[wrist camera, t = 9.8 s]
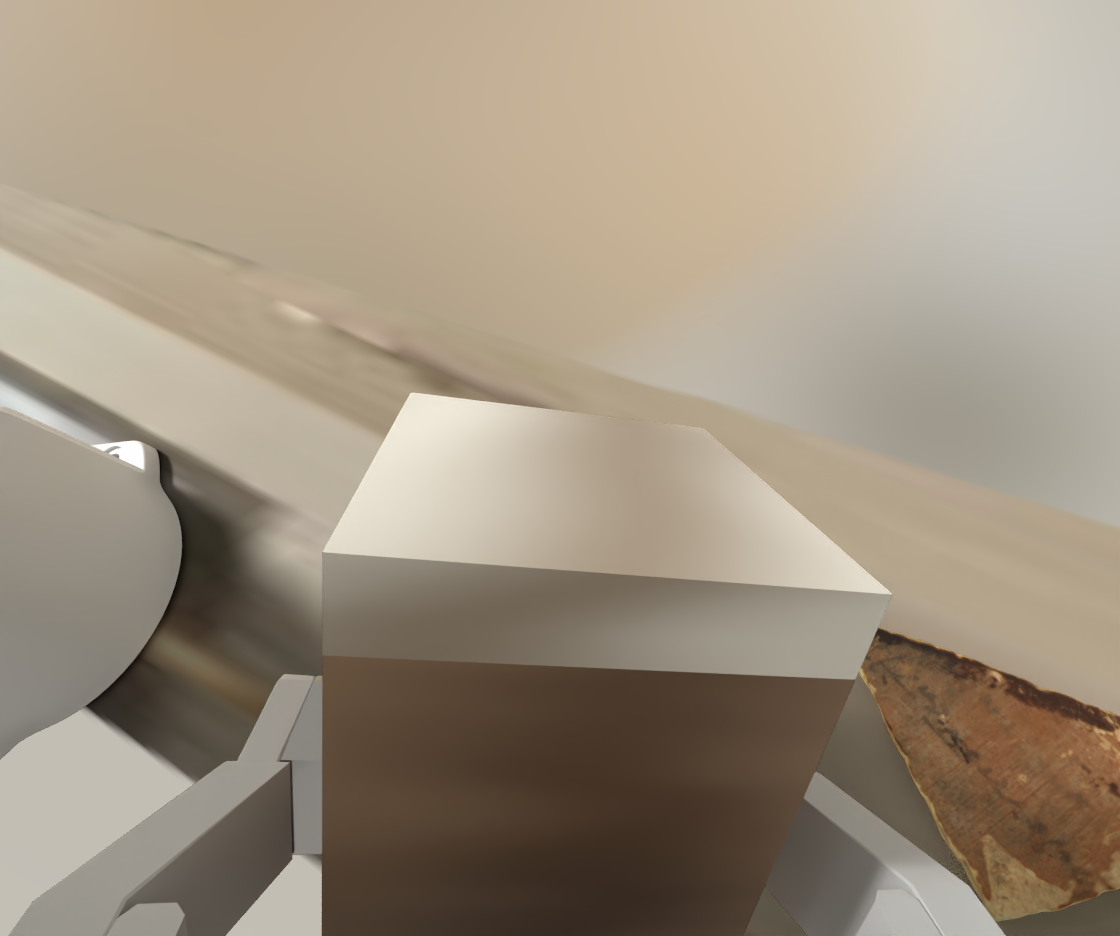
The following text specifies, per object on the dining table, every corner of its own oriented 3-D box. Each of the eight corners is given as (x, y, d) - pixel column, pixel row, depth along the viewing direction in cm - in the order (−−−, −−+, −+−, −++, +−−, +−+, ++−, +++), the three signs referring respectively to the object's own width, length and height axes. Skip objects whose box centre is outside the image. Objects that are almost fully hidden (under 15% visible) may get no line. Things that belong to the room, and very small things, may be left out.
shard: (815, 613, 24) (824, 604, 23) (984, 557, 24) (1006, 544, 22) (972, 918, 19) (999, 934, 17) (1190, 849, 19) (1238, 859, 17)
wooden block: (321, 1163, 8) (323, 552, 4) (385, 822, 12) (410, 392, 9) (657, 1131, 9) (891, 594, 5) (600, 822, 13) (703, 428, 10)
